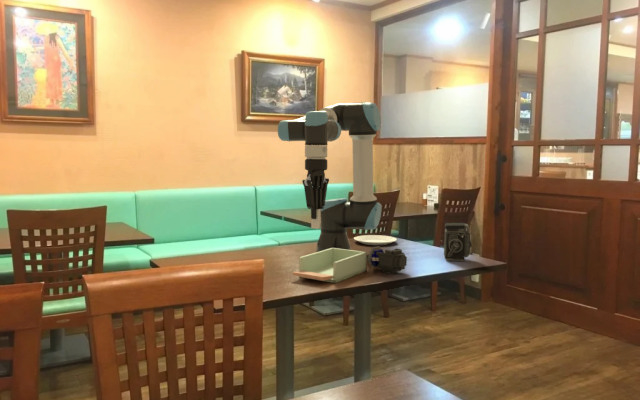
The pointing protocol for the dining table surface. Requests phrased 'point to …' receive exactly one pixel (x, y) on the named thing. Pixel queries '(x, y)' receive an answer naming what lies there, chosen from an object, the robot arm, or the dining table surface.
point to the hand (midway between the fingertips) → (315, 228)
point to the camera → (457, 241)
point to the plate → (375, 239)
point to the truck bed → (334, 263)
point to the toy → (387, 259)
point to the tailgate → (313, 275)
